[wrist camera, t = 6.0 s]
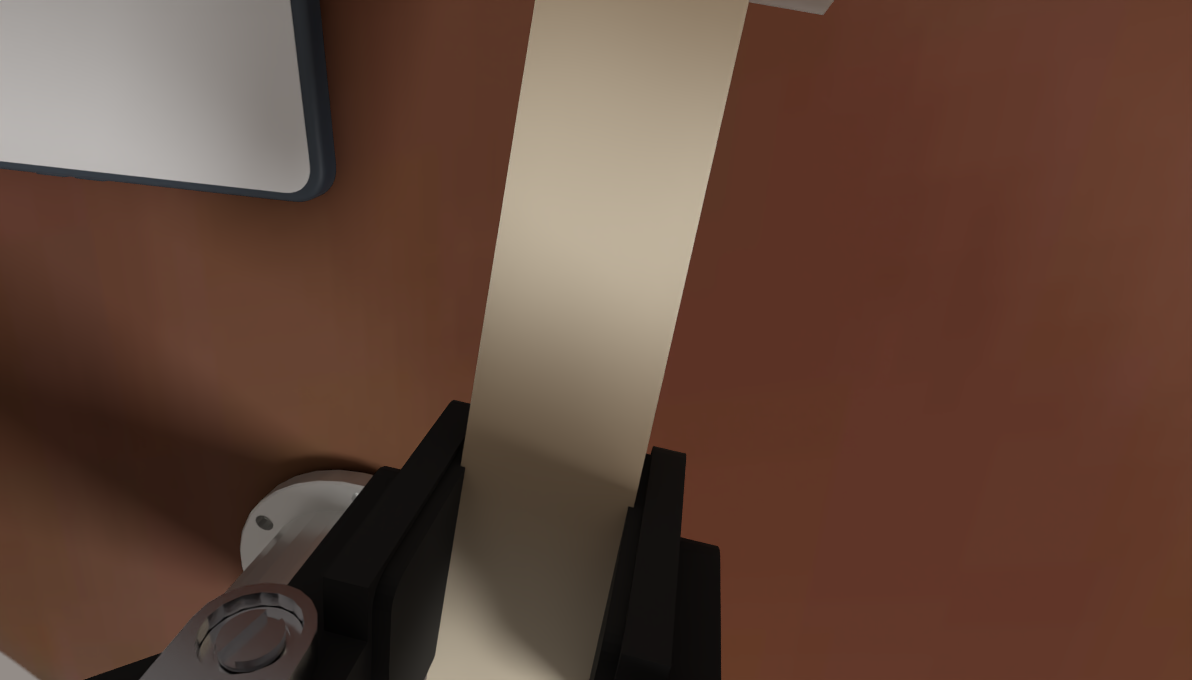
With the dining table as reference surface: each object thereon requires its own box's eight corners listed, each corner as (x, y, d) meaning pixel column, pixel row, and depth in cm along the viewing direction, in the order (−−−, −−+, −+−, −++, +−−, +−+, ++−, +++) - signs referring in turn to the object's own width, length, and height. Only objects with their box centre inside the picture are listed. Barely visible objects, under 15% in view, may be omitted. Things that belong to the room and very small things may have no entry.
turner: (639, 740, 14) (617, 1041, 9) (409, 677, 14) (263, 932, 9) (840, -55, 10) (986, -289, 5) (528, -105, 11) (402, -368, 6)
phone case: (322, -73, 21) (-113, -102, 23) (294, -80, 20) (-167, -111, 21) (348, 199, 25) (-25, 158, 27) (326, 210, 24) (-66, 165, 25)
